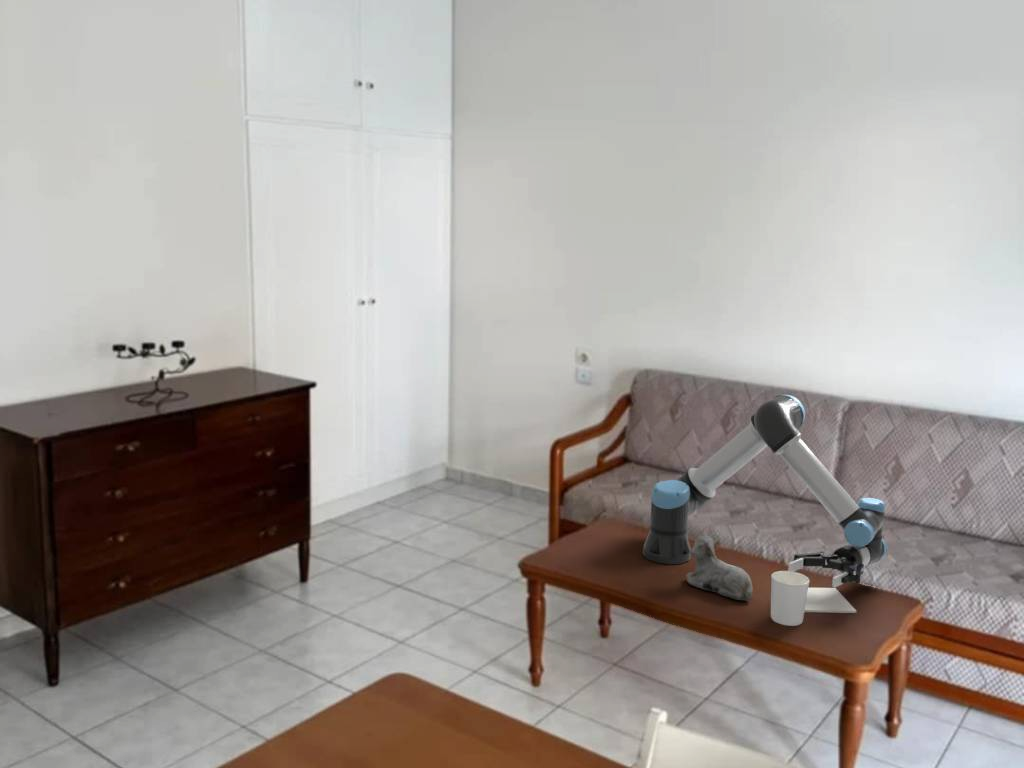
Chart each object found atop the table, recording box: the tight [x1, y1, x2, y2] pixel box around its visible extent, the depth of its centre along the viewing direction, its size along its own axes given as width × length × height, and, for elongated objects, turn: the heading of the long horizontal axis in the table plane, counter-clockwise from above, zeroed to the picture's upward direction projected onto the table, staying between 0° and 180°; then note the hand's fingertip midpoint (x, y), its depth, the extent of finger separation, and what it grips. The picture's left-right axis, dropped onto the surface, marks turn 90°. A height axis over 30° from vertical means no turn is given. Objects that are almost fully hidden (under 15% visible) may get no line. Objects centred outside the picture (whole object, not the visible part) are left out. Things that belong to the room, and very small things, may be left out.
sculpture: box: [685, 535, 754, 602], centre depth 270 cm, size 11×21×15 cm, turn 61°
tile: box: [804, 587, 857, 614], centre depth 266 cm, size 16×16×1 cm
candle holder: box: [770, 570, 810, 627], centre depth 252 cm, size 10×10×12 cm
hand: (810, 575), depth 258 cm, fingers open, 13 cm apart
